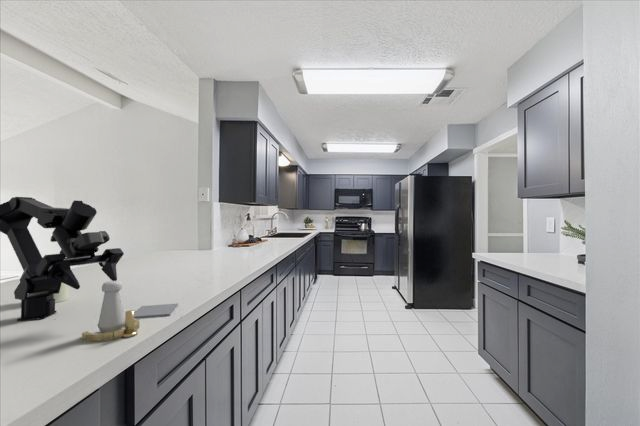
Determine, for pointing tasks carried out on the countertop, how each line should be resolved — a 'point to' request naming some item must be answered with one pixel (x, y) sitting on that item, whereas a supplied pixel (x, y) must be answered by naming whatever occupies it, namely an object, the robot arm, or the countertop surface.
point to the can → (61, 293)
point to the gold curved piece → (127, 332)
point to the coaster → (155, 310)
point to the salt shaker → (111, 308)
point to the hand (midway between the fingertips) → (98, 284)
